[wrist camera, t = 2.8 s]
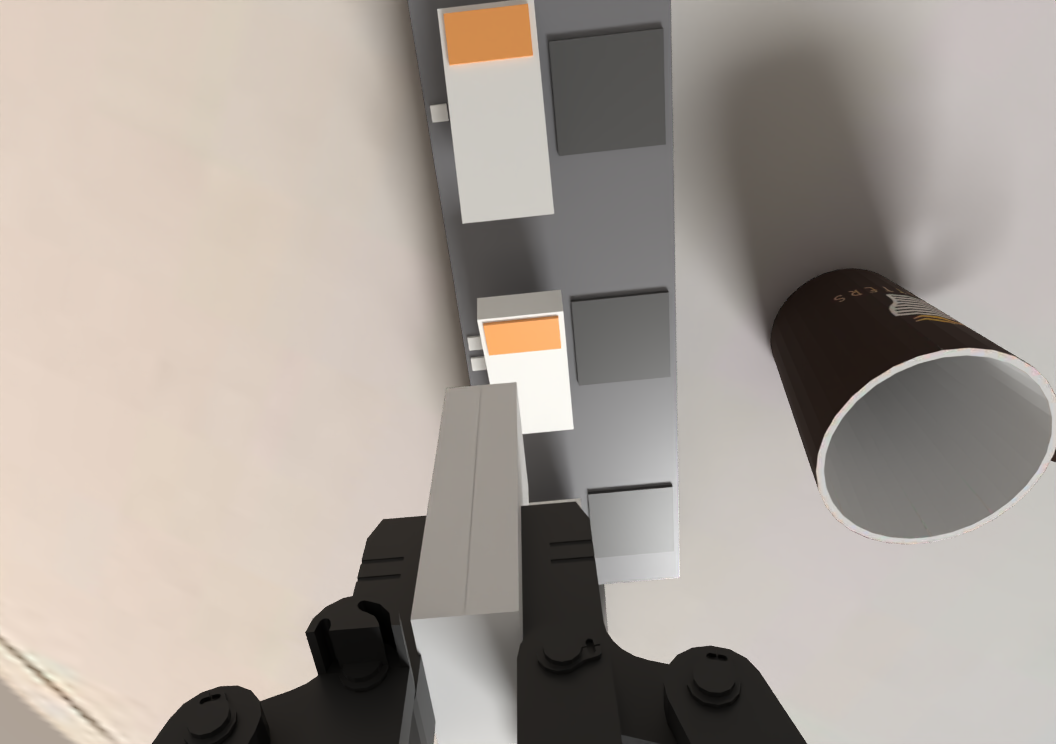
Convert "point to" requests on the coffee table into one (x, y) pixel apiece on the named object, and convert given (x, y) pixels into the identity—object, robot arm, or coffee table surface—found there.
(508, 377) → the rocker
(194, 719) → the robot arm
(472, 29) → the block
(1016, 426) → the coffee mug
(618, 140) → the power strip
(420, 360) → the coffee table surface
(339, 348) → the coffee table surface
